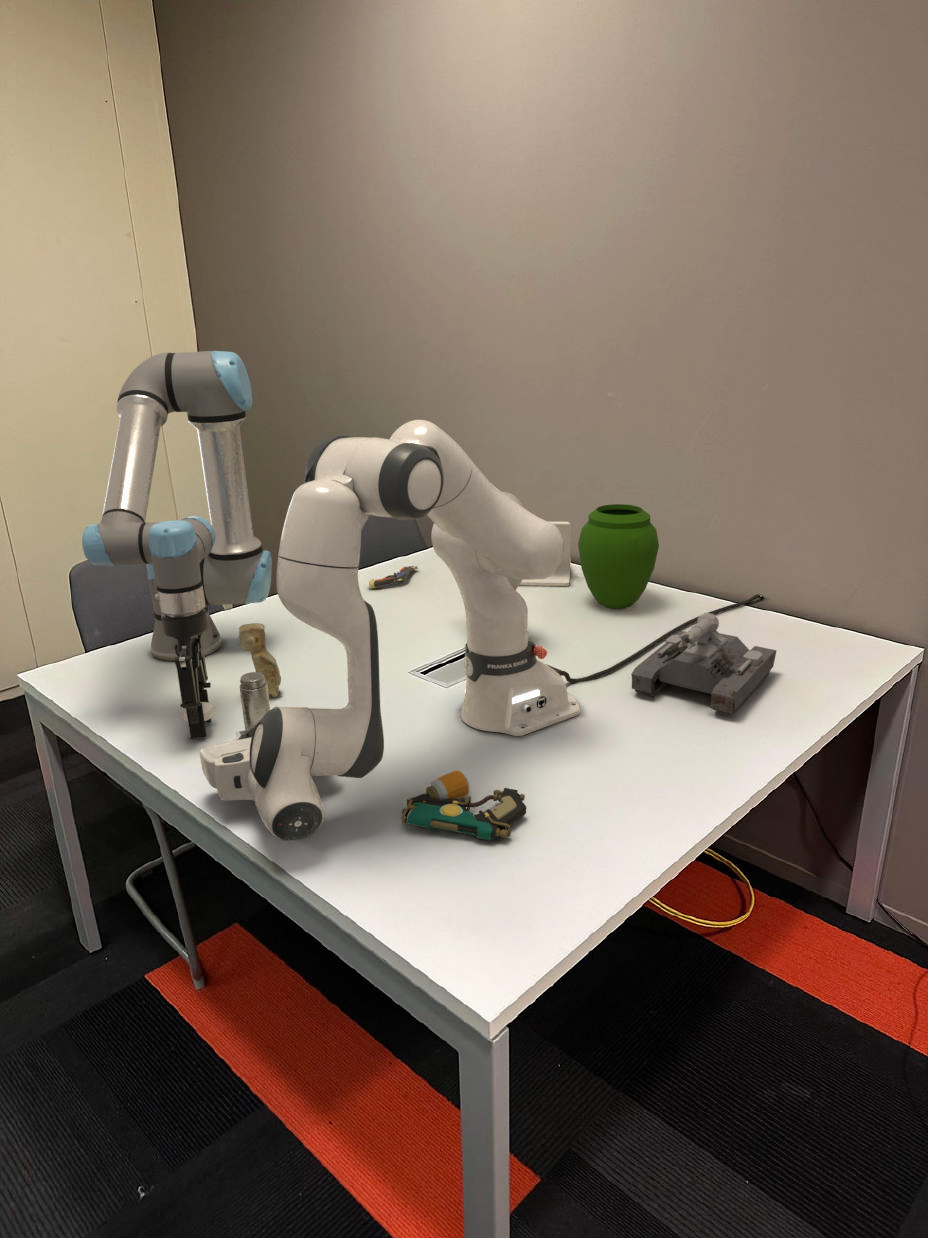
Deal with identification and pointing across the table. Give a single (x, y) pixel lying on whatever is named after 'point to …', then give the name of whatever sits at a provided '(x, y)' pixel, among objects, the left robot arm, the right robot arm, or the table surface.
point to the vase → (618, 554)
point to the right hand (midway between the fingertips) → (258, 731)
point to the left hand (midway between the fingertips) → (201, 729)
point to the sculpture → (260, 654)
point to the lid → (207, 711)
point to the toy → (706, 665)
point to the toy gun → (393, 577)
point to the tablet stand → (563, 571)
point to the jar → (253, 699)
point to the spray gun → (463, 808)
